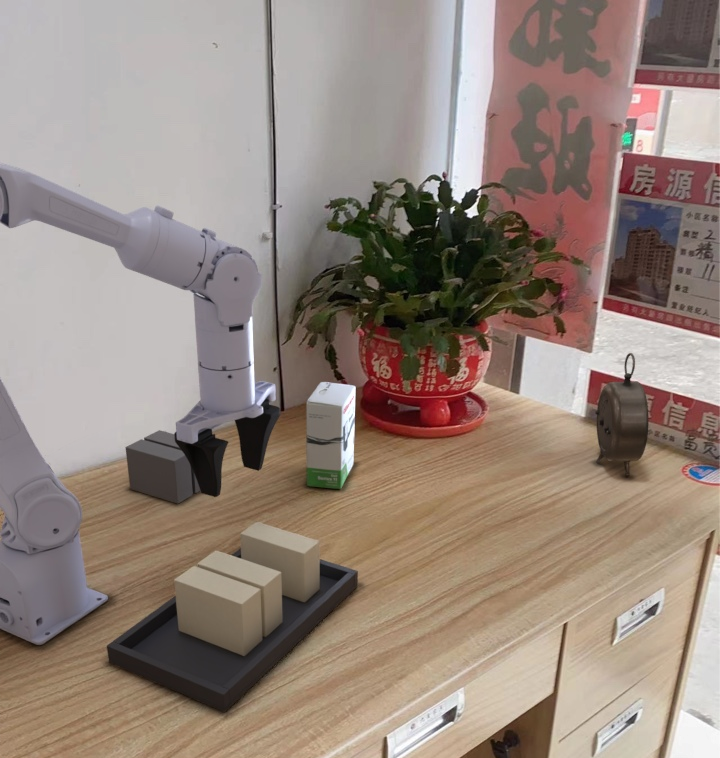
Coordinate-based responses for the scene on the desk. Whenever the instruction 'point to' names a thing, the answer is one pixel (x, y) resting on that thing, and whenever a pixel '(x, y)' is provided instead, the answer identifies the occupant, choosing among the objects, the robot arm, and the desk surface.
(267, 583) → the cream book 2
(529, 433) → the desk surface
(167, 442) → the gray rectangular block
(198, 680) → the tray
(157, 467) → the gray rectangular block
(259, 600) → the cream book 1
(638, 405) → the alarm clock
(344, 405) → the ink box
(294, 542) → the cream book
